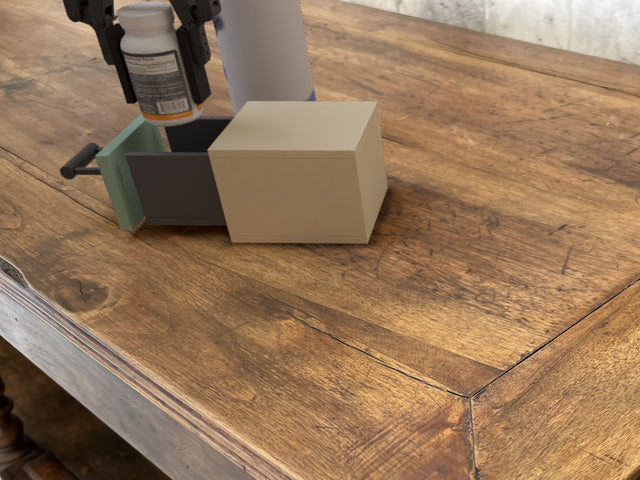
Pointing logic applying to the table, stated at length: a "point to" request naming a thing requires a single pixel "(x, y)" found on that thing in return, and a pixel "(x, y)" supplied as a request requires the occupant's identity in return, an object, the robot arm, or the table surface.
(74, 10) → the robot arm
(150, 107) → the pill bottle
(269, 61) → the container
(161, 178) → the drawer
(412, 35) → the table surface
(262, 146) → the cabinet
